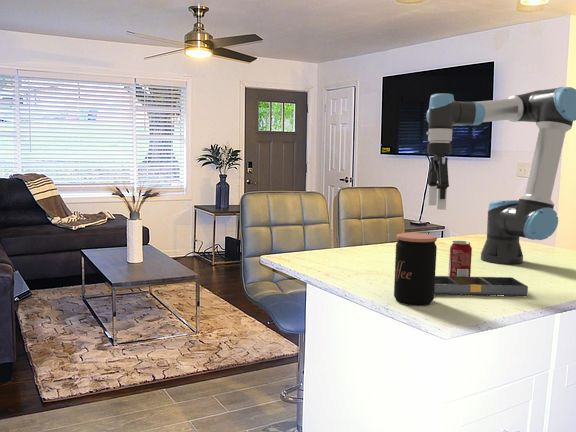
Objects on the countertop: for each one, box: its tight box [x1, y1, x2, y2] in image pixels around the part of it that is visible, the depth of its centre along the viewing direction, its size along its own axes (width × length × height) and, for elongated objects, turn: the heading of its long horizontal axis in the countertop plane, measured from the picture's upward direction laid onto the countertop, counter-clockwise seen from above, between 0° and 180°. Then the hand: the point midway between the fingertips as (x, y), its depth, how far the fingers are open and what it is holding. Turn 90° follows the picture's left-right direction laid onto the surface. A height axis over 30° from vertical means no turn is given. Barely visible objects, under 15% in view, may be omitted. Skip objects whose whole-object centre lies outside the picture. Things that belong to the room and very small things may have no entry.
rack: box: [434, 275, 529, 297], centre depth 163 cm, size 30×12×3 cm, turn 90°
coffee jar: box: [393, 232, 438, 307], centre depth 150 cm, size 11×11×18 cm
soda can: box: [447, 240, 473, 277], centre depth 179 cm, size 7×7×12 cm
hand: (436, 207), depth 183 cm, fingers open, 13 cm apart
